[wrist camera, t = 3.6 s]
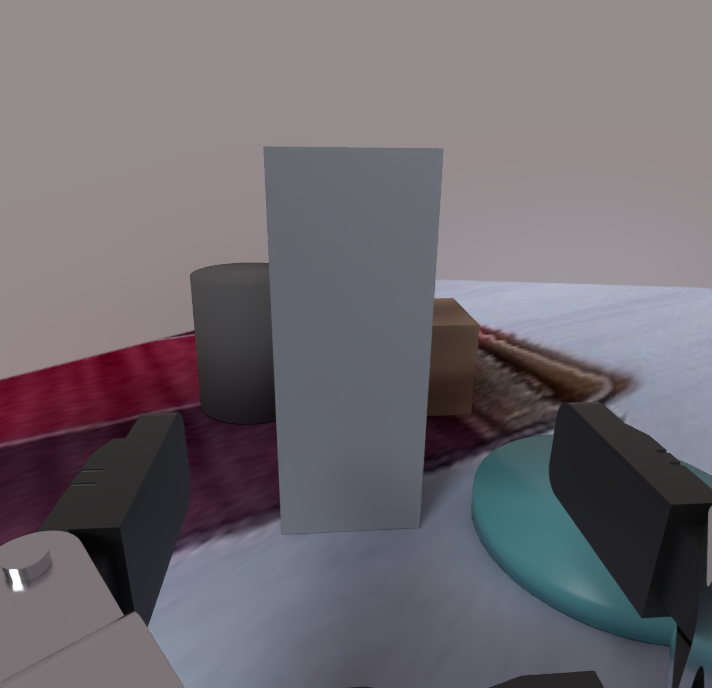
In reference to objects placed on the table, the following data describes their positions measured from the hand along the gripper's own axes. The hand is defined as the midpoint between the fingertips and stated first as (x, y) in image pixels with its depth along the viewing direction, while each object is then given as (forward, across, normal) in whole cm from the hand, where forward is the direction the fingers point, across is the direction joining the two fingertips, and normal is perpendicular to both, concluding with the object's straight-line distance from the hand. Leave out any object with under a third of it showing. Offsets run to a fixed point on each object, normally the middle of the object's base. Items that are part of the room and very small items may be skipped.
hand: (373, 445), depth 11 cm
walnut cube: (+17, -4, +7) cm, 19 cm away
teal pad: (+5, -10, +7) cm, 13 cm away
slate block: (+8, 0, +7) cm, 11 cm away
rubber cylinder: (+17, +4, +7) cm, 19 cm away
